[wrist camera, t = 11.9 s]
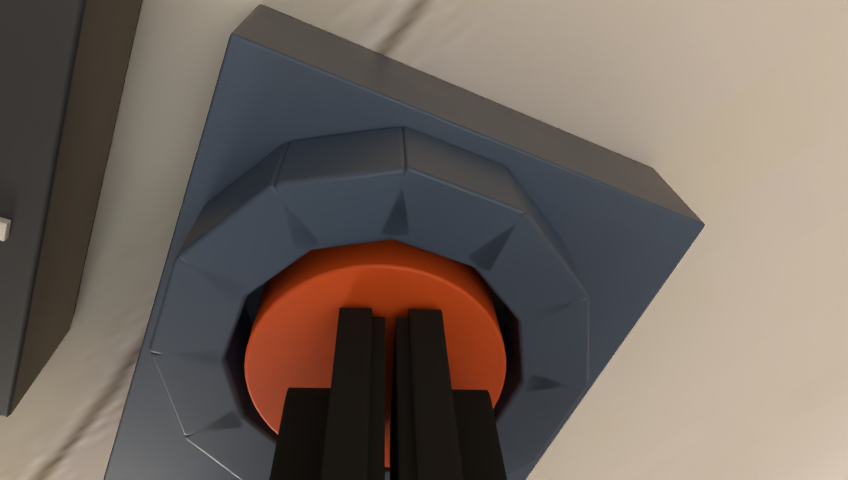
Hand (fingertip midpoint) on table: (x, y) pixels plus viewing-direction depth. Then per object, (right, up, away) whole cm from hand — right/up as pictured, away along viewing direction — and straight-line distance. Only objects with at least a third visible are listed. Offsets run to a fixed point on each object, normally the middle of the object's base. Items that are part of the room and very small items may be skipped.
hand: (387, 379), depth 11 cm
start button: (0, +1, +2) cm, 2 cm away
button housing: (-1, +1, +5) cm, 5 cm away
